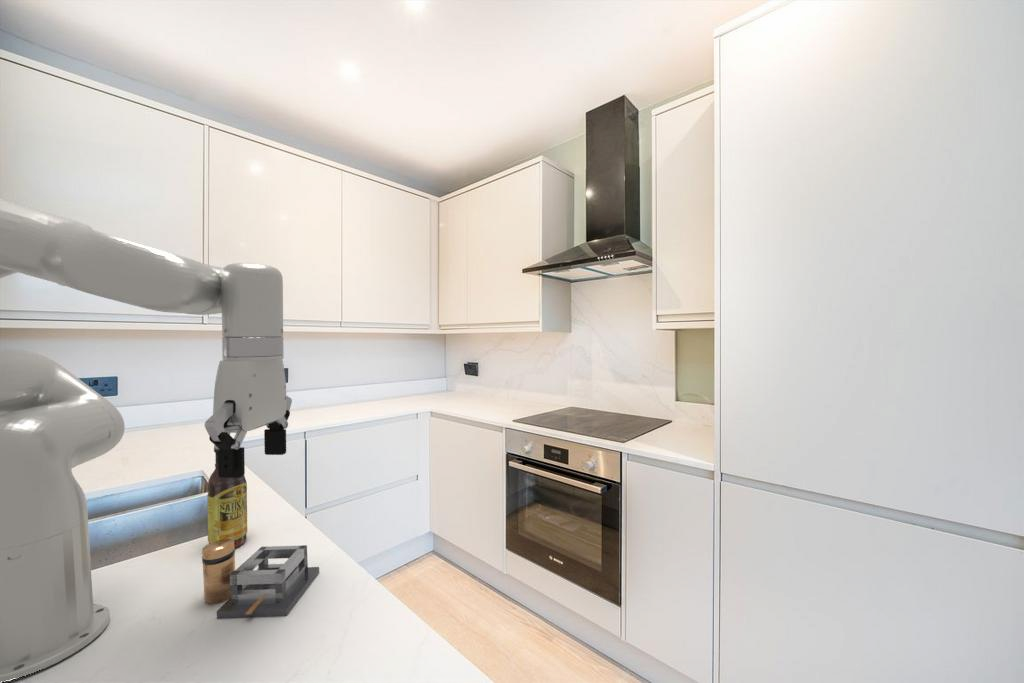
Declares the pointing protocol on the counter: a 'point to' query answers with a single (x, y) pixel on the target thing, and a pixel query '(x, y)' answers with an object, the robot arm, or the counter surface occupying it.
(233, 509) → the sauce bottle
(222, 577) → the copper tube
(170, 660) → the counter surface
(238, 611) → the collar stand
